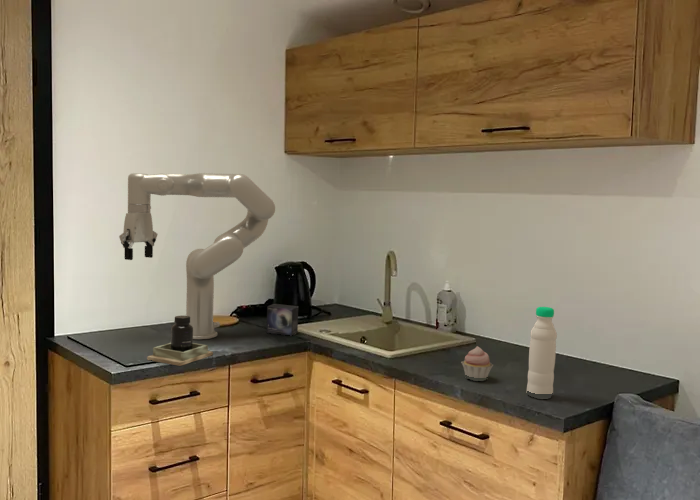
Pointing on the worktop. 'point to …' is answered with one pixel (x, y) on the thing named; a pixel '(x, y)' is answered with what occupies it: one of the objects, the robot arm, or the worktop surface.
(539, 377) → the white milk bottle
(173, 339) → the supplement bottle
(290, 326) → the small box
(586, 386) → the worktop surface
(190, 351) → the board
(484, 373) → the cupcake
